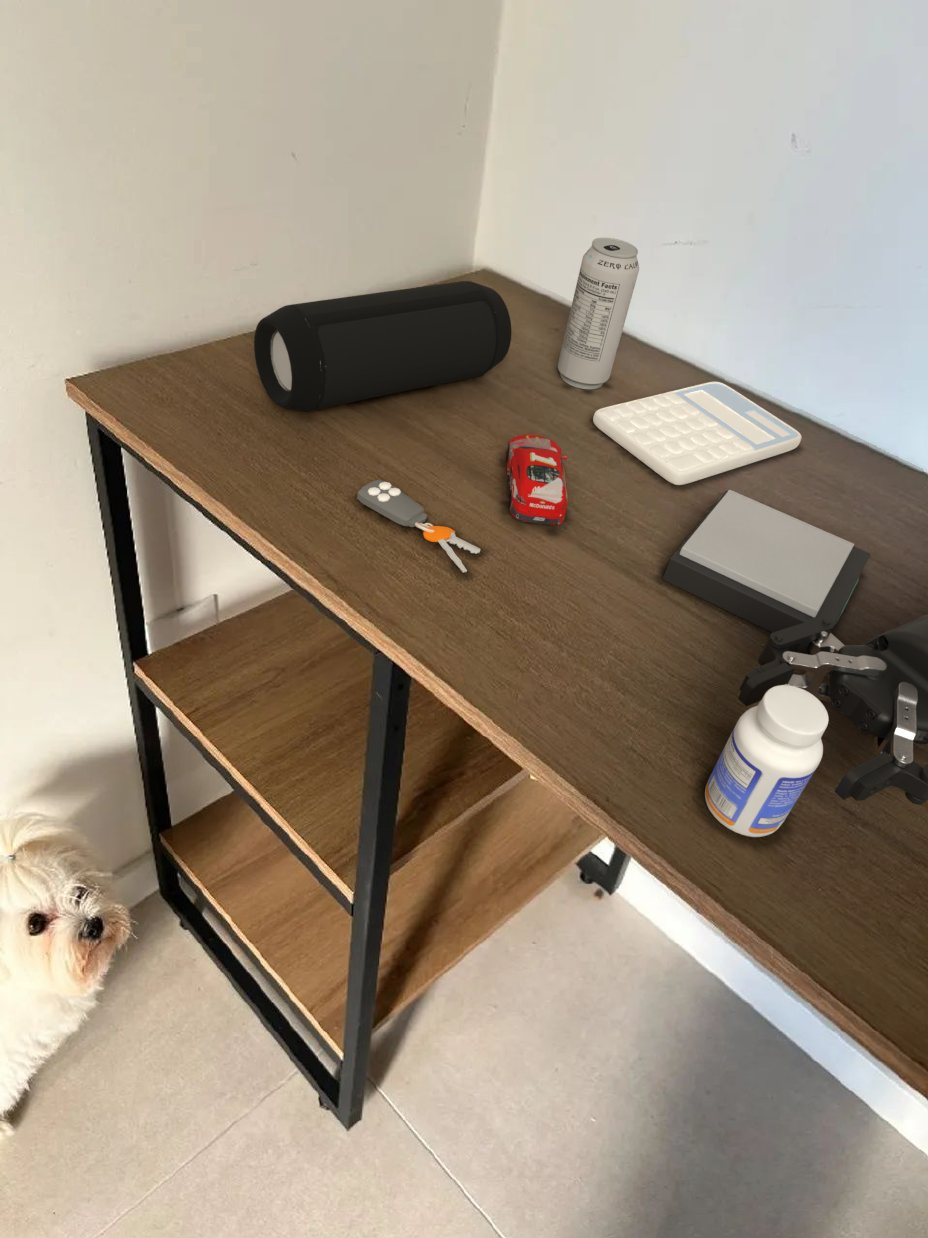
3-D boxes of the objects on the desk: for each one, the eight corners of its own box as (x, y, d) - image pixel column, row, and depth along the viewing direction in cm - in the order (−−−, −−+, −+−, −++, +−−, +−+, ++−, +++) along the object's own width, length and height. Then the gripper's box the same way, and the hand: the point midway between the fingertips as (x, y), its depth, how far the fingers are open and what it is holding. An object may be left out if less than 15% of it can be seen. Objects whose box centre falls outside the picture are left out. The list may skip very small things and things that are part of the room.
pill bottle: (785, 790, 64) (843, 693, 57) (778, 852, 60) (841, 754, 53) (707, 763, 65) (757, 664, 58) (696, 821, 61) (748, 722, 54)
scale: (860, 574, 85) (876, 546, 83) (819, 656, 75) (835, 627, 73) (717, 510, 89) (729, 482, 87) (661, 579, 80) (672, 550, 78)
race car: (503, 448, 92) (511, 412, 89) (557, 456, 92) (566, 421, 90) (504, 526, 82) (512, 488, 79) (564, 535, 82) (575, 497, 80)
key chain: (351, 502, 81) (352, 488, 80) (381, 487, 84) (382, 473, 83) (463, 575, 76) (466, 561, 75) (491, 557, 78) (494, 543, 77)
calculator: (586, 422, 98) (591, 406, 97) (714, 390, 108) (719, 376, 107) (674, 489, 91) (680, 473, 90) (802, 449, 101) (809, 433, 100)
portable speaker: (455, 349, 106) (468, 262, 100) (507, 390, 101) (525, 301, 94) (249, 387, 93) (249, 290, 87) (296, 436, 88) (300, 336, 81)
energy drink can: (618, 385, 106) (655, 253, 96) (582, 396, 102) (616, 261, 93) (581, 361, 109) (613, 232, 99) (544, 371, 106) (574, 238, 96)
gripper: (887, 566, 69) (734, 625, 61) (1061, 695, 60) (910, 782, 52) (844, 640, 73) (698, 703, 66) (1000, 769, 65) (854, 858, 57)
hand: (792, 738), depth 59 cm, fingers open, 8 cm apart
